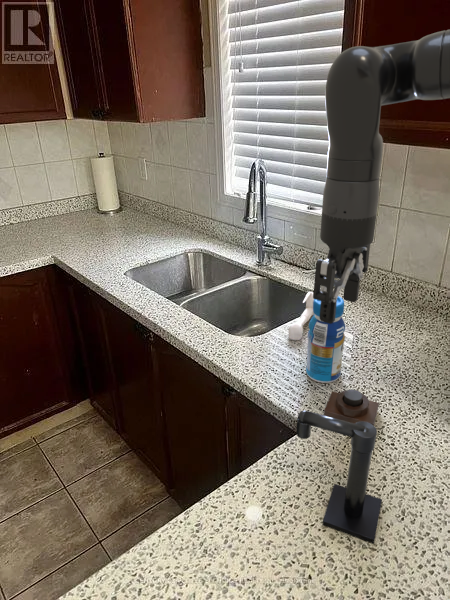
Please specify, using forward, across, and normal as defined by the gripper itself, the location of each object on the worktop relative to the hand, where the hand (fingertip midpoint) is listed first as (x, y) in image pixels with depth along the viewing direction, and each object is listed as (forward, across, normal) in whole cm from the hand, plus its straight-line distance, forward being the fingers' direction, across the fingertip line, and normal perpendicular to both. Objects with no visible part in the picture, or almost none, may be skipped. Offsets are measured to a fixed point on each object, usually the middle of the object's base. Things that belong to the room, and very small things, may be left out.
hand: (339, 310), depth 70 cm
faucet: (+32, +42, +27) cm, 59 cm away
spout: (+18, -9, -5) cm, 20 cm away
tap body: (+32, -8, -9) cm, 34 cm away
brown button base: (+32, +14, +1) cm, 35 cm away
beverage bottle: (+32, +24, +12) cm, 42 cm away
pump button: (+28, +14, +1) cm, 31 cm away
